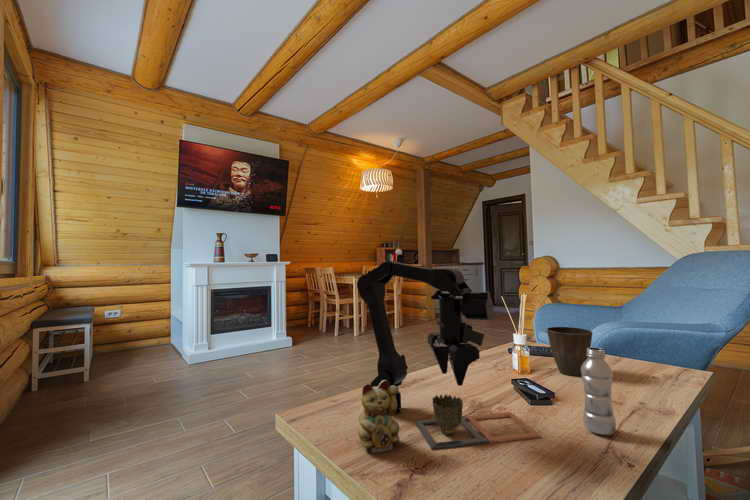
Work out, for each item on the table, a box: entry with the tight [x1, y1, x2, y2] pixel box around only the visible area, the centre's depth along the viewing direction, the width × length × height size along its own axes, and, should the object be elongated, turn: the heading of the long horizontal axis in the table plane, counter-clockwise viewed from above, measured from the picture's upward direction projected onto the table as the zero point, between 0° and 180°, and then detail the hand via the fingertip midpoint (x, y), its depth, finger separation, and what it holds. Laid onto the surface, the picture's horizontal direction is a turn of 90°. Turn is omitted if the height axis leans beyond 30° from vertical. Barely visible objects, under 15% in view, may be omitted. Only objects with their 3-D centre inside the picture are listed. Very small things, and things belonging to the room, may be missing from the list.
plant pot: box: [546, 326, 593, 377], centre depth 127 cm, size 15×15×16 cm
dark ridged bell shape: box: [432, 394, 464, 436], centre depth 83 cm, size 8×7×8 cm
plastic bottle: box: [581, 347, 617, 436], centre depth 83 cm, size 6×7×20 cm
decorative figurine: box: [357, 380, 401, 454], centre depth 78 cm, size 10×8×15 cm
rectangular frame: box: [415, 411, 542, 451], centre depth 84 cm, size 27×13×1 cm, turn 99°
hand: (451, 379), depth 86 cm, fingers open, 9 cm apart
